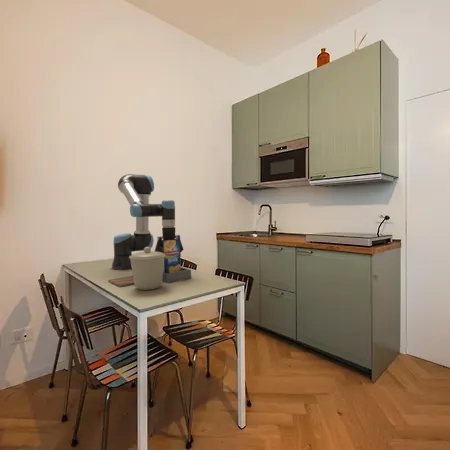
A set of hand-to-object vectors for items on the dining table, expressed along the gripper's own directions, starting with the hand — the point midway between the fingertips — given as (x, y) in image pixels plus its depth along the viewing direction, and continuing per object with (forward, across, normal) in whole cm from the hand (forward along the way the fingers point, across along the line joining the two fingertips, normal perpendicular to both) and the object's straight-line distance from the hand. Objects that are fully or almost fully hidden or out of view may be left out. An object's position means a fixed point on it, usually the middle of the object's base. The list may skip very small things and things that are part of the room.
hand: (169, 264), depth 171 cm
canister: (+8, -20, -11) cm, 24 cm away
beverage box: (+8, 0, 0) cm, 8 cm away
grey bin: (+8, 0, 0) cm, 8 cm away
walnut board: (+8, -23, +8) cm, 26 cm away
